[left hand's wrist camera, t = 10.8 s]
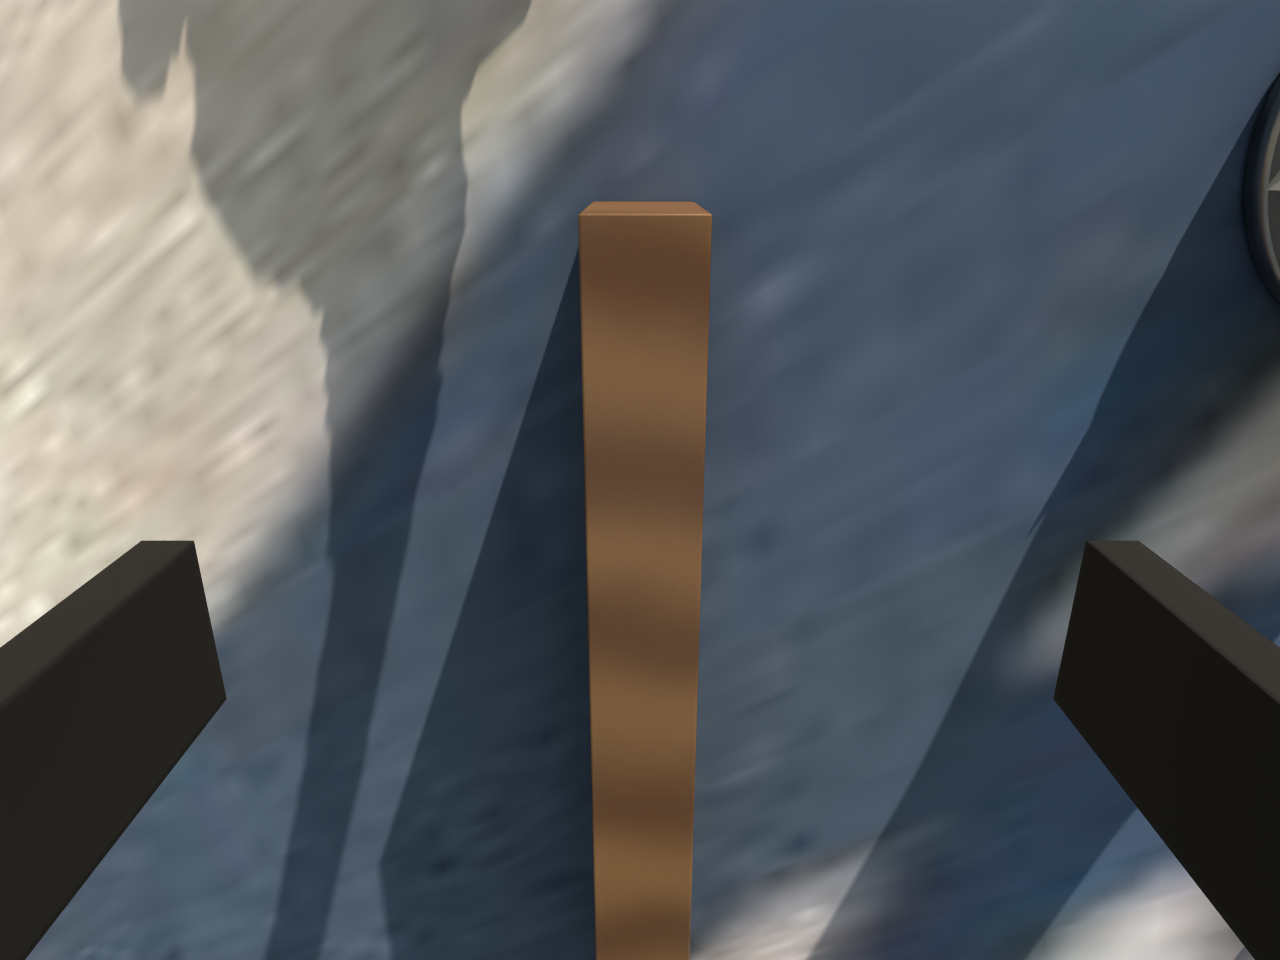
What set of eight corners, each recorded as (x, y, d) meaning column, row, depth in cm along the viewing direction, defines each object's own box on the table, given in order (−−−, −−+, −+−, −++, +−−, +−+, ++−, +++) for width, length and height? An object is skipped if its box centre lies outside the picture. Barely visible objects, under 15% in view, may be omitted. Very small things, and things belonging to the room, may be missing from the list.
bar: (592, 201, 33) (578, 213, 25) (694, 201, 33) (712, 213, 25) (611, 1281, 58) (607, 1454, 50) (669, 1280, 58) (674, 1454, 50)
